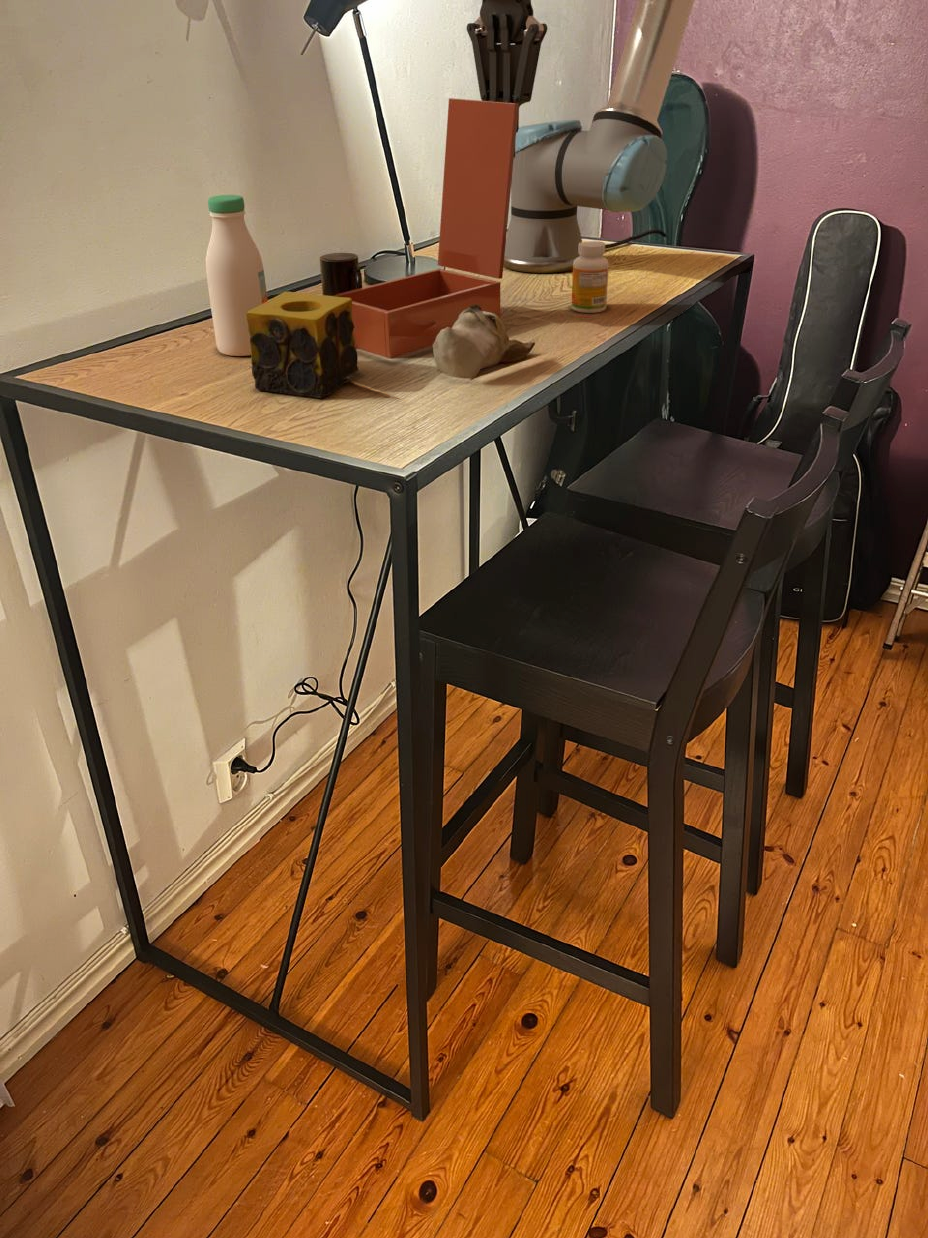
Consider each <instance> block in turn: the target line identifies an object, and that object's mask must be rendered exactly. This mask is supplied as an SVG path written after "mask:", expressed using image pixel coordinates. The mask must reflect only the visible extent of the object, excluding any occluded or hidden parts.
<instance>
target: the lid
mask: <svg viewBox="0 0 928 1238" xmlns="http://www.w3.org/2000/svg"><path fill="white" fill-rule="evenodd" d="M447 109H448V110H447V119H446V121H447V122H446V135H445V150H444V151H445V153H444V165H443V181H442V193H441V195H442V196H441V209H440V210H441V211H440V223H439V238H438V240H439V241H438V251H437V252H438V253H437V254H438V255H437V266H438V267H439V266H440V267H444V268H448V269H452V270H457V271H461V272H466V273H471V274H475V275H476V274H477V275H480V276H485V277H489V278H493V279H499V280H500V279H501V280H502V279H503V276H504V256H505V245H506V235H507V230H508V225H509V222H508V221H509V213H510V204H511V182H512V172H513V161H514V151H515V140H516V130H517V119H518V109H519V110H520V107H519V104H517V103H505V102H492V101H482V100H479V99H477V100H476V99H465V98H452V97H451V98H448V107H447Z"/></svg>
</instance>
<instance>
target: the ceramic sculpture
mask: <svg viewBox="0 0 928 1238" xmlns="http://www.w3.org/2000/svg"><path fill="white" fill-rule="evenodd" d="M535 345H536V342H535V341H534V342H533V341H532V342H522V341H520V340H518V339H510V337H509V336H508V333H507V328H506V326H505V323H504V321H503V320H502V318H501V317H500V318H499V317H498V316H497V315H496V314H493V313H490V312H485V311H482V310H481V308H480V306H478V305H472V306H470V307H469V308H468V309H466V310H464V311H463V312H462V313H461V314H460V315H459V317H458V320H457V321H456V322H455V323H454V325H453V327H452V328H449V327H446V328H445V329H442V330H441V331H440V332H439V334H438V335H437V337H436V339H435V342H434V344H433V346H432V350H433V358H434V363H435V365H436V367H437V369H438V370H439V371H440V372H441V373H442V374H444V375H447V376H449V377H452V378H466V379H468V380H469V381H470V380H473V379H474V378H476V376H478V374H479V372H480V371H481V369H486V368H490V367H493V366H495V365H497V364H499V363H500V362H501V363H513V362H517V361H520V360H522V359H524V357H525V356H527V355H528V354H530V352H532V350H533V349H534V347H535Z"/></svg>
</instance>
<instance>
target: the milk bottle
mask: <svg viewBox="0 0 928 1238" xmlns="http://www.w3.org/2000/svg"><path fill="white" fill-rule="evenodd" d="M207 205H208V206H207V207H208V210H209V216H210V217H211V219H212V221H211V222H212V225H211V234H210V238H209V242H208V244H207V248H206V255H205V273H206V281H207V289H208V295H209V303H210V310H211V317H212V324H213V325H212V326H213V332H214V337H215V343H216V349H217V350H218V352H220V353H221V354H223V355H226V356H233V357H234V356H235V357H245V356H246V357H247V356H251V346H250V333H249V330H248V322H247V316H246V313H247V312H248V311H250V310H252V309H253V308H255V307H257V306H259V305H261V304H263V303H265V302H267V301H269V300H268V292H267V284H266V277H265V270H264V263H263V260H262V256H261V254H260V251H259V247H258V246H257V244H256V243H255V241H254V239H253V238H252V235H251V233H250V232H249V229H248V226H247V223H246V221H245V214H246V212H245V200H244V197H243V195H239V194H219V195H213V196H211V197H209V198H208V199H207Z"/></svg>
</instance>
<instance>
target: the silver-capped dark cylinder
mask: <svg viewBox="0 0 928 1238" xmlns="http://www.w3.org/2000/svg"><path fill="white" fill-rule="evenodd" d="M319 269H320V279H321V290H322V295H326V296H332V295H336V294H340V293H344V292H348V291H352V290H356V289H360V288H363V275H362V272H361V271H362V270H361V268H360V265H359V255H357V254H356V253H352V252H332V253H326V254H323V255H320V257H319Z"/></svg>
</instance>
